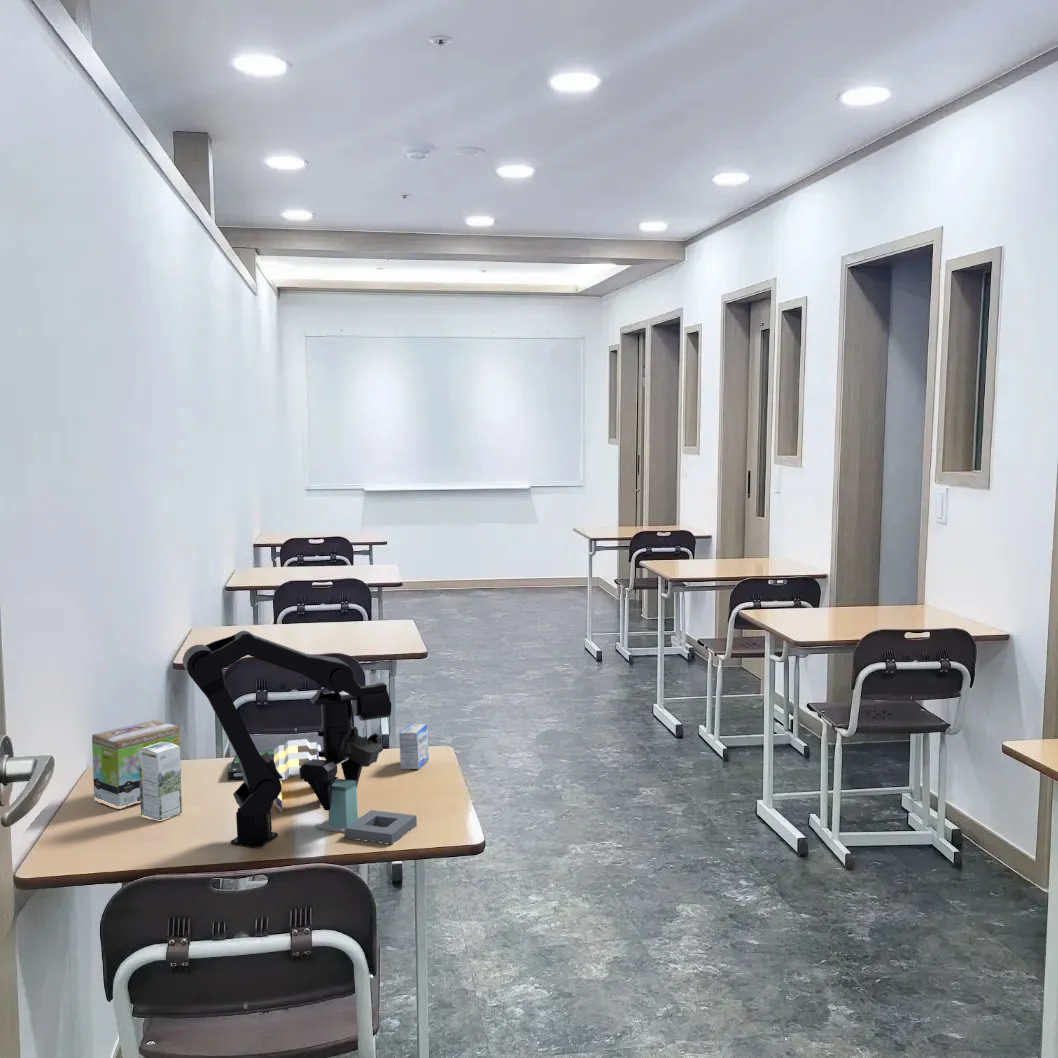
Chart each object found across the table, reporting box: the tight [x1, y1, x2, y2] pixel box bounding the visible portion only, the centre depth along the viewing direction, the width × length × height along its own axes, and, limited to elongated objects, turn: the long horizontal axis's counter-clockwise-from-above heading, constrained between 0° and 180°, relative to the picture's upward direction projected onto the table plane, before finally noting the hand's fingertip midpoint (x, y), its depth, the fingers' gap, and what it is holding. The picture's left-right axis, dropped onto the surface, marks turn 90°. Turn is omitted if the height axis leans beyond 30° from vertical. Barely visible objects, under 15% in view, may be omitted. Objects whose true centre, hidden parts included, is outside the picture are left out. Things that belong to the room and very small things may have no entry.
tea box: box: [91, 719, 182, 806], centre depth 219 cm, size 15×10×15 cm, turn 143°
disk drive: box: [227, 749, 274, 782], centre depth 236 cm, size 10×3×15 cm
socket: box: [344, 809, 418, 845], centre depth 196 cm, size 10×10×2 cm
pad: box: [315, 816, 361, 833], centre depth 200 cm, size 7×7×1 cm
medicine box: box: [398, 723, 430, 770], centre depth 236 cm, size 8×4×9 cm, turn 168°
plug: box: [327, 778, 358, 828], centre depth 199 cm, size 4×4×8 cm
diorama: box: [273, 738, 323, 812], centre depth 221 cm, size 25×10×13 cm, turn 14°
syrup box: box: [138, 742, 183, 820], centre depth 206 cm, size 6×6×14 cm
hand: (340, 802), depth 200 cm, fingers open, 9 cm apart
